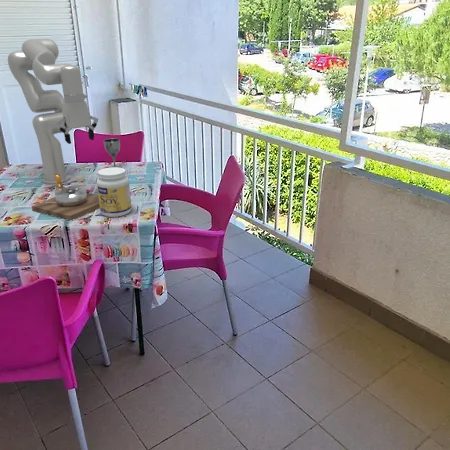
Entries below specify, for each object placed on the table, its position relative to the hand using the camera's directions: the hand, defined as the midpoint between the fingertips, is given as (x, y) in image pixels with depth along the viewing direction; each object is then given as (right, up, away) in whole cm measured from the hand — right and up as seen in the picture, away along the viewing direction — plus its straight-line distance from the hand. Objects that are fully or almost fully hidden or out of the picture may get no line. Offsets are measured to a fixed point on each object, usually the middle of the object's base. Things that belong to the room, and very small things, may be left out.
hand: (80, 141), depth 179 cm
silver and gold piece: (-5, -24, +1) cm, 24 cm away
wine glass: (+2, -5, +48) cm, 48 cm away
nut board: (-3, -27, -1) cm, 27 cm away
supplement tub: (+17, -30, -7) cm, 35 cm away
